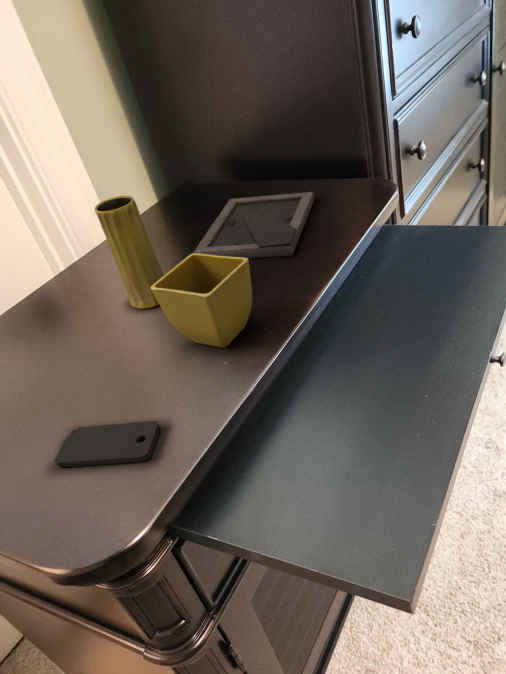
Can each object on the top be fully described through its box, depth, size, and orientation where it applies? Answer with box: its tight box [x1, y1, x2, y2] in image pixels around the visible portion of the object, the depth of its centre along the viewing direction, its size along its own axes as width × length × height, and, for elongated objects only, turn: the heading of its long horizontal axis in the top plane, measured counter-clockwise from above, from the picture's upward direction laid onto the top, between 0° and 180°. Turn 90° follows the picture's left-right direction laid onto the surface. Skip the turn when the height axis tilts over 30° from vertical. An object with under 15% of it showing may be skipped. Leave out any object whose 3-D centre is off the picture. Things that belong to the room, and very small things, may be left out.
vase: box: [94, 195, 165, 310], centre depth 73 cm, size 6×6×14 cm
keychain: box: [54, 420, 161, 468], centre depth 54 cm, size 5×1×10 cm
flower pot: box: [150, 252, 253, 349], centre depth 64 cm, size 9×9×9 cm
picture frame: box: [193, 191, 315, 259], centre depth 89 cm, size 16×2×21 cm
